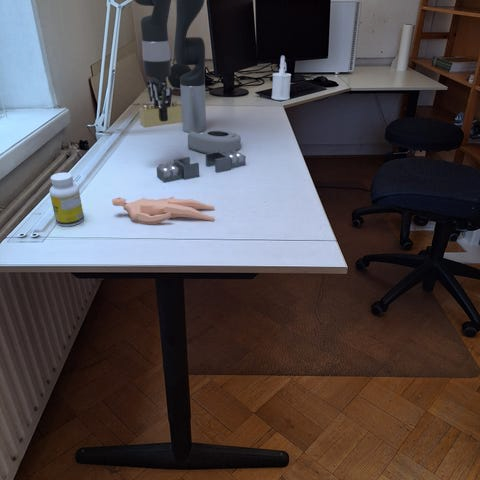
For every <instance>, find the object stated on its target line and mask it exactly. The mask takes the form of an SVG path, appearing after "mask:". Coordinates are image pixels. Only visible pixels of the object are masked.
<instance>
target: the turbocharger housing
mask: <svg viewBox="0 0 480 480" xmlns="http://www.w3.org/2000/svg"><path fill="white" fill-rule="evenodd" d="M187 133H188V134H187V148H188V149H189V150H193V151H196V152H199V153H203V154H206V153H211V152H216V151H221V152H222V153H225V152H231V151H232V150H235V151H237V152H238V150H240V147H241V139H242V138H241V136H240V134H238V133H237V132H235V131H234V132H233V131H228V130H220V129H211V130H205V131H203V132H202V133H200V132H194V131H190V132H187Z"/></svg>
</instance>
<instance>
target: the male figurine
mask: <svg viewBox="0 0 480 480" xmlns="http://www.w3.org/2000/svg"><path fill="white" fill-rule="evenodd" d="M126 201H127V199H126V198H124V197H121V196H119V197H115V198H113V199H112V200H111V203H112V205H113V206H114V207H115V206H116V207H122V209H123V210H124V211H126V212H127V213H128V215H129V218H130V220H132V221H133V222H135V223H138V224H142V225H156V224H160V223H162V222H165V221H167V220H168V219H170V218H171V219H175V218H178V217H179V218H180V217H182V218H185V217H186V218H187V217H188V218H193V219H196V220H197V219H198V220H205V221H209V222H214V220H215V216H213V215H209V214H207V213H203V212H201V211H199V210H208V211H209V210H210V211H215V205H212V204H211V205H210V204H207V203H203V202H200V201H198V200H195V199H193V198H192V199H191V198H187V199H182V198H175V197H174V196H171V197H166V198H165V197H164V198H157V199H150V198H144V197H143V198H140V199H137V200H135V201H131V202H126Z"/></svg>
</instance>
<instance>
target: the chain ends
mask: <svg viewBox="0 0 480 480" xmlns="http://www.w3.org/2000/svg"><path fill="white" fill-rule="evenodd" d="M172 160H173V163H172V162H166V163H165V164H162V163H160V164H158V165H157V166H156V178H158V179H159V180H160V181H162V183H169V182H172V181H173V182H174V181H177V180H182V179H183V180H184V181H185V180H189V179H194V178H198V177H200V163H198V162H195V163H191V158H190V156H185V157H180V158H176V159H172ZM205 166H206V167H211V166H212V167H215V169H214V170H215V171H214V172H215V173H217V174H218V173H221V172H227V171H230V170H232V169H235V168H239V167H244V166H246V155H244V154H242V153H240V152H238V150H237V151H235V150H232V151H231V152H225V153H222V152H221V151H216V152H211V153H205Z"/></svg>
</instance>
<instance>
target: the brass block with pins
mask: <svg viewBox="0 0 480 480" xmlns="http://www.w3.org/2000/svg"><path fill="white" fill-rule="evenodd" d="M159 109H160V108H159V105H157V106H154V105H151V106H149V104H144V105H142V107H138V110H139V112H138V113H139V121H140V123H139V124H140V126H142V127H143V128H151V127H153V128H154V127H158V126H159V127H160V126H166V125H174V124H179V123H181V124H182V108H181V104H179V103H178V102H177V101H171V107H168V108H167V114H168V120H167V121H163V122H162V121H160V112H159Z"/></svg>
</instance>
